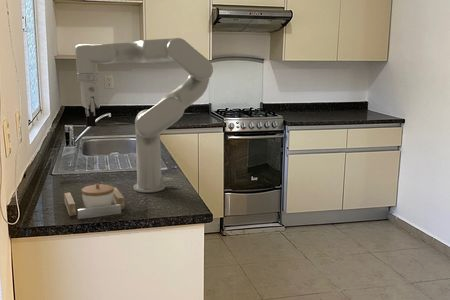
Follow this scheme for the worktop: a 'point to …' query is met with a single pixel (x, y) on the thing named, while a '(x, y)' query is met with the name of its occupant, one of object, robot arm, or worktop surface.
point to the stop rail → (99, 211)
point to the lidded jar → (97, 195)
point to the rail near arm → (118, 198)
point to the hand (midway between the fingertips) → (91, 126)
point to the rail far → (70, 204)
